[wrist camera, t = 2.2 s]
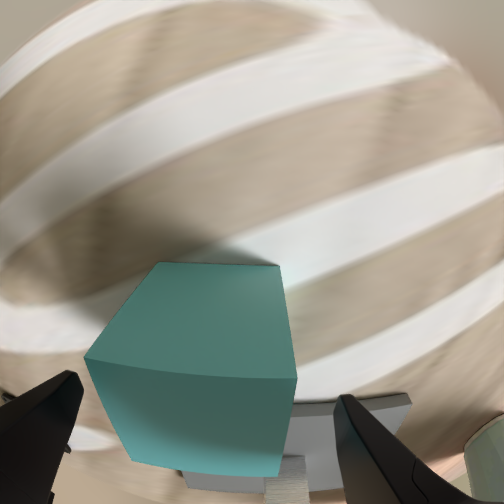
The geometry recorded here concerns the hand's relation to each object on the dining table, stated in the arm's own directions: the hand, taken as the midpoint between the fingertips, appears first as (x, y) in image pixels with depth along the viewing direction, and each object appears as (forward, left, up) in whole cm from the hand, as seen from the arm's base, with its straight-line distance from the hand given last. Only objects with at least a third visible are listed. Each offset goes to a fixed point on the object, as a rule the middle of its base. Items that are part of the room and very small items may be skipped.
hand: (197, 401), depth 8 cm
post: (+4, -12, -5) cm, 14 cm away
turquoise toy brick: (0, 0, -5) cm, 5 cm away
